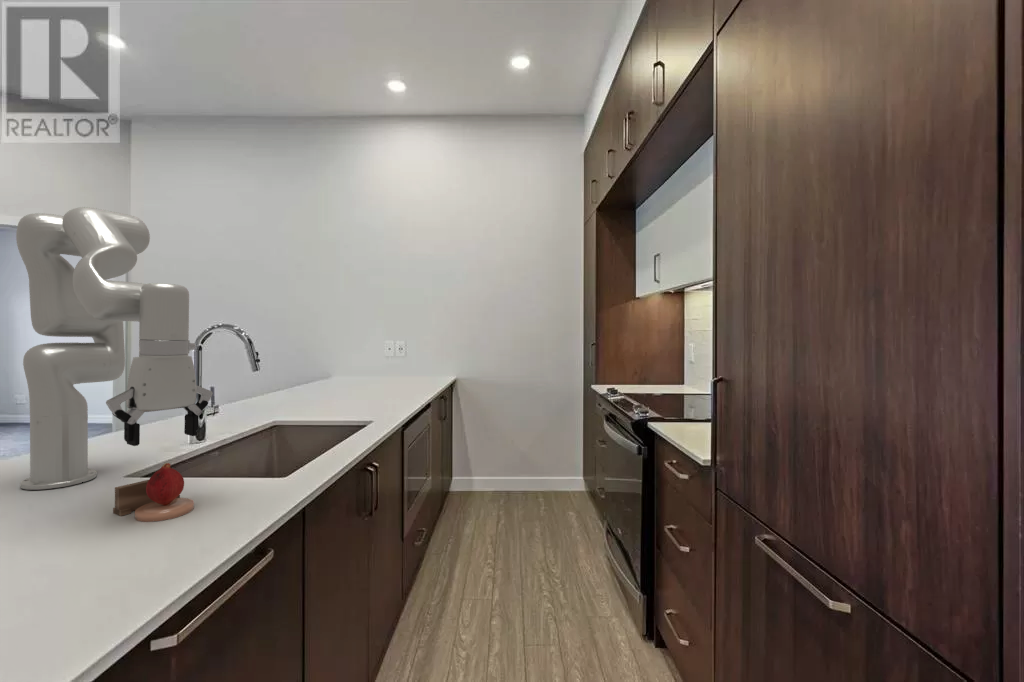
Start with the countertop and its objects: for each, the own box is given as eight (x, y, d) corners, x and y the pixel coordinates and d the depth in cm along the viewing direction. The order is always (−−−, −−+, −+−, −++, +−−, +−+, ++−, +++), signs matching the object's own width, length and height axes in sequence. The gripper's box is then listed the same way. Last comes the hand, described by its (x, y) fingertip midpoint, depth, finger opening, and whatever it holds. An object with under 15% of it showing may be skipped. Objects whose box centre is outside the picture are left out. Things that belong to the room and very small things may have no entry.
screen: (113, 513, 89) (113, 486, 89) (172, 497, 98) (172, 473, 98) (120, 516, 88) (120, 489, 88) (180, 499, 96) (179, 475, 96)
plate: (125, 515, 88) (125, 509, 88) (178, 501, 96) (178, 495, 96) (150, 525, 84) (149, 518, 84) (203, 509, 91) (203, 502, 91)
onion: (164, 512, 86) (163, 468, 86) (138, 509, 88) (137, 466, 88) (191, 501, 92) (191, 460, 92) (166, 499, 93) (166, 458, 93)
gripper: (201, 347, 99) (200, 429, 99) (98, 349, 84) (97, 446, 84) (222, 349, 95) (221, 434, 96) (118, 351, 80) (117, 452, 80)
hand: (163, 439), depth 90 cm, fingers open, 9 cm apart
